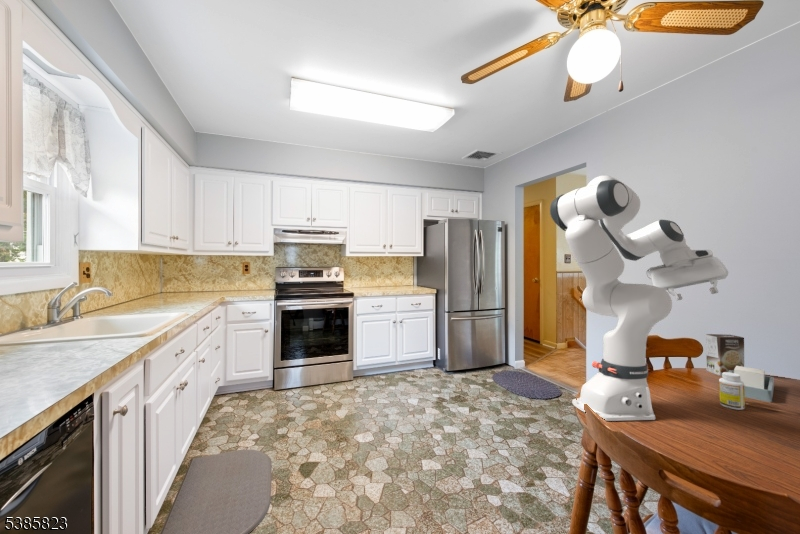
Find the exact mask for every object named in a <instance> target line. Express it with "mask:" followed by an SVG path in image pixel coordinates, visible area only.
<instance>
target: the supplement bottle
mask: <svg viewBox="0 0 800 534" xmlns="http://www.w3.org/2000/svg"><path fill="white" fill-rule="evenodd" d="M740 379H741V378H740V375H739V374H735V373H730V372H723V373H722V376H721V377H720V378H719V379H718V382H719V383H718V386H719V387H718V389H719V390H718V391H719V404H720V405H721V406H722V407H725V408H727V409H730V410H731V409H732V410H738V411H742V410H745V409H746V402H745V400H746V397H745V390H744V383H743V382H742V381H740Z"/></svg>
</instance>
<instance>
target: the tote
mask: <svg viewBox="0 0 800 534" xmlns="http://www.w3.org/2000/svg"><path fill="white" fill-rule="evenodd" d="M728 372H730V373H734V371H733V370H729V371H728ZM774 388H775V377H774V376H770V375H765V389H760V388H754V387H749V386H744V390H745V398H747V399H751V400H757V401H762V402H766V403H772V402H773V397H774V396H773V395H774Z"/></svg>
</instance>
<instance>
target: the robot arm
mask: <svg viewBox="0 0 800 534" xmlns="http://www.w3.org/2000/svg"><path fill="white" fill-rule="evenodd" d="M640 209H641V200H640V197H639V195H638V194H637V193H636V192H635V191H634V190H633V189H632V188H631V187H629V186H628V185H627V184H625V183H624V182H622V181H621V180H619V179H617V178H615V177H612V176H610V175H604V174H603V175H598V176H596V177H594V178H592V179H591V180H590V181H589V182H588V183H587V185H585V186H580V187H578V188H576V189H573V190H570V191H569V192H566V193H564V194H560V195H559V196H557V197H555V199H553V200H552V201H551V203H550V208H549V214H550V218H551V220H552V221H553V222H554V223H555V224H556V225H557V226H558V227H559V228H560V229H561V230H562V231H565V233H564V236H565V237H564V238H565V241H566V243H567V246H568V249H569V251H570V253H571V255H572V257H573V258H574V260H575V262H576V264H577V265H578V268H579V269H580V270H581V272H582V274H583V275H584V278H585V281H586V284H587V286H586V287H585V289H584V290H583V292H582V295H581V300H582V304H583V306H584V308H585V309H586V310H587V311H589V312H592V313H594V314H598V315H601V316H606V317H612V318H617V319H618V320H617V324H616V326H615V328H614V329H611V330H609V331H606V332H605V334H603V336H602V337H603V338H602V350H603V351H602V354H603V355H602V359H601V361H600V362H599V361H594V360H593V361H592V362H591V367H592V368H596V369H598V372H597V373H595V374H594V375H593V376H592V377H591V378H589V379H588V380H587V381H586V382H585V383H584V384H582V385H581V389H580V394H579V395H580V396H579V397H577V400H576V398H573V399H572V401H571V403H572V405H573V406H574V407H575V408H577V409H578V410H580V411H582V412H583V413H585V410H584V404H587V405H588V406H589V407H590V408H591V409H592V410H593V411H594V412H595V413H597V414H598V415H599V416H600V417H602V418H603V419H605V420H604V421H606V422H607V421H608V422H609V421H610V422H611V421H612V422H616V421H619V422H620V421H621V422H622V421H655V420H656V415H655V413H654V410H653V409H654V408H653V406H652V398H651V392H650V387H649V385H648V381H647V378H648V377H649V368H648V364H647V363H646V360H647V358H646V357H647V356H646V355H647V354H646V351H647V341H648V336H649V334H650V332H651V331H652V330H653V327H654V326H655V325H657V323H659V322H661V321H662V320H664V319H666V318H667V317H668V316H669V315H670V313H671V311H672V309H673V299H672V297H671V295H672V296H673V297H674V298H675V299H676V301H682V300H683V295H682V294H681V293H677V292H675V291H674V290H675V289H680V288H684V287H690V286H695V285H701V284H706V283H710V284H711V285H712V287H710V288H709V292H710V294H712V295H714V294H718V293H719V290H718V288H717V285H718V281H719V280H725V279H726V278H727V277H728V275H729V270H728V269H727V267H726V265H725V264H724V263H723V262H722V260H721V259H719V258H718V257H717V256H714V253H713V251H712V250H710V249H691V247H690V246H688V245H687V242H686V241H687V240H686V239H685V237H684V236H685V235H684V232H683V230H682V229H681V228H680V226H679V225H678V224H677V222H675V221H673V220H670V219H659V220H656V221H654V222H651V223H650V224H647V225H646V226H644V227H641V228H639V229H637V230H635V231H633V232H630V233H628V234H625V233H624V232H623V231H622V229H623V228H624V227H626V226H627V224H629V223H630V222H631V221H633V220H634V219H635V218H636V216H637V215H638V214H639V211H640ZM599 222H600V223H599ZM617 249H618V250H617ZM655 252H658V253H659V256H660V257H659V258H660V260H661V261H662V262H661V263H662V264H660V265H657V266H652V267H649V268H647V270H646V271H645V272H646V273H645V274H646V275H647V277H648V279H649V280H651V284H652V285H650V284H645V283H624V282H621V280H619V279H618V278H620V276H621V275H622V274H623V272H624V270H625V262H624V259H626V260H629V261H635V262H637V261H639V260H640V259H642V258H645V257H647V256H649V255H651V254H653V253H655ZM620 254H621V255H620ZM622 257H623V258H624V259H623V258H622Z"/></svg>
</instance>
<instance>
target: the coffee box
mask: <svg viewBox="0 0 800 534" xmlns="http://www.w3.org/2000/svg"><path fill="white" fill-rule="evenodd" d="M705 336H706V371H707V372H709V373H712V374H714V375H717V376H721V377H722V373H723V372H728V371H729V370H733V371H734V369H735V367H736V366H742V367H745V337H743V336H738V335H734V334H723V333H722V334H721V333H720V334H719V333H718V334H712V333H706V335H705Z"/></svg>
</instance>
